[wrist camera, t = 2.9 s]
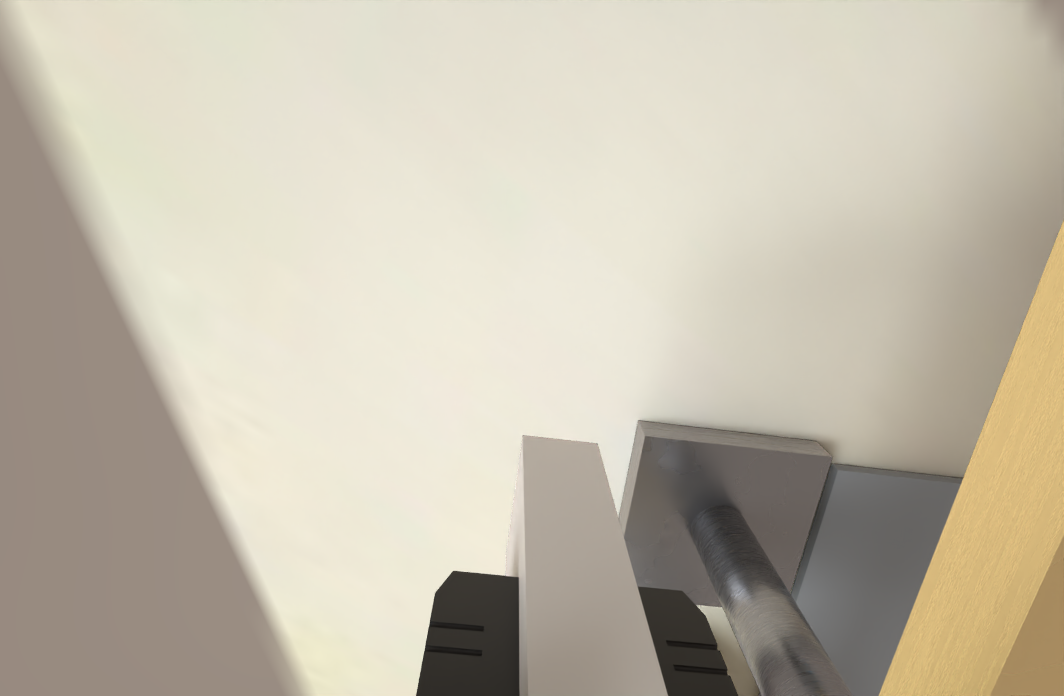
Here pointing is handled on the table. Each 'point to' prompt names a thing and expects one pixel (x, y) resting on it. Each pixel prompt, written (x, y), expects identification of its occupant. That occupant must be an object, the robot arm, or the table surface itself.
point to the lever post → (732, 539)
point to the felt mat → (869, 564)
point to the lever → (1002, 537)
